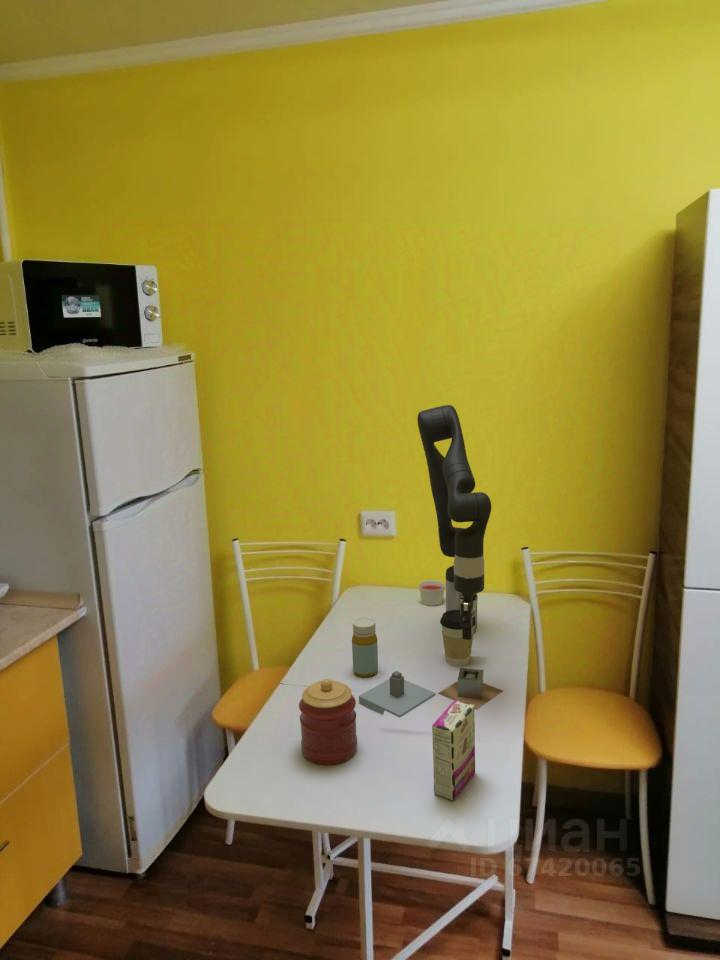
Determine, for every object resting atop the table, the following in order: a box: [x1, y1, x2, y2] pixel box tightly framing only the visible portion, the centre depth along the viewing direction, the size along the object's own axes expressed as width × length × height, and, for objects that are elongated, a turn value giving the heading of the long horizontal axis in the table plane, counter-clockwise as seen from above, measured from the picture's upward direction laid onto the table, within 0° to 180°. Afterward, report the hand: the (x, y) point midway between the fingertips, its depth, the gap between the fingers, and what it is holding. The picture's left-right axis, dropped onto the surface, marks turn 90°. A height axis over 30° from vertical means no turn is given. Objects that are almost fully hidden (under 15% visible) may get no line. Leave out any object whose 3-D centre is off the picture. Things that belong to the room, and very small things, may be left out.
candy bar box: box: [431, 700, 476, 801], centre depth 152 cm, size 11×5×16 cm, turn 148°
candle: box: [418, 579, 446, 607], centre depth 249 cm, size 9×9×6 cm
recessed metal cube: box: [457, 667, 485, 699], centre depth 186 cm, size 6×6×5 cm
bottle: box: [351, 617, 379, 678], centre depth 201 cm, size 7×7×15 cm
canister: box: [298, 678, 358, 766], centre depth 165 cm, size 13×13×18 cm
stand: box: [437, 674, 504, 711], centre depth 187 cm, size 12×12×6 cm
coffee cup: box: [439, 610, 476, 667], centre depth 203 cm, size 10×10×15 cm
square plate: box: [358, 670, 437, 718], centre depth 186 cm, size 14×14×8 cm
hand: (468, 631), depth 183 cm, fingers open, 8 cm apart
